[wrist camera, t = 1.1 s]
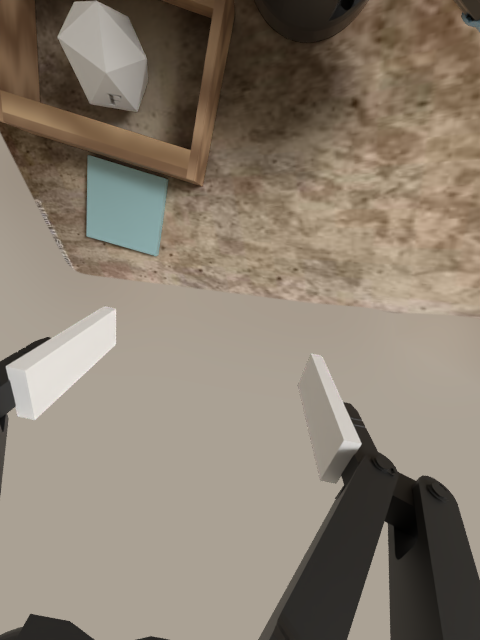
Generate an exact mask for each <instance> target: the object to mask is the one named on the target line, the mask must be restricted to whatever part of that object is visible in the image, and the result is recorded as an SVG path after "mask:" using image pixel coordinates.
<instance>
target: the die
mask: <svg viewBox="0 0 480 640" xmlns="http://www.w3.org/2000/svg"><path fill="white" fill-rule="evenodd" d="M58 39H59V42H60V44H61V46H62V48H63V50H64V52H65V54H66V56H67V58H68V60H69V62H70V64H71V66H72V68H73V70H74V72H75V74H76V76H77V78H78V80H79V82H80V84H81V86H82V88H83V90H84V92H85V94H86V97H87V99H88V101H89V103H90V104H92V105H98V106H104V107H110V108H116V109H121V110H127V111H133V112H138V109H139V107H140V104H141V101H142V98H143V95H144V92H145V89H146V86H147V83H148V67H147V57H146V55H145V53H144V51H143V48H142V46H141V44H140V42H139V39H138V37H137V35H136V33H135V30H134V28H133V26H132V24H131V22H130V19H129V17H128V16H126V15H124V14H122V13H120V12H118V11H116V10H114V9H112V8H110V7H108V6H106V5H104V4H102V3H100V2H98V1H76V2H74V3H73V5H72V7H71V9H70V11H69V14H68V16H67V18H66V20H65V22H64V24H63V26H62V28H61V30H60V32H59V35H58Z"/></svg>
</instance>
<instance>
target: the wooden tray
mask: <svg viewBox="0 0 480 640" xmlns="http://www.w3.org/2000/svg"><path fill="white" fill-rule="evenodd" d="M161 1H164V2H166V3H169V4H172V5H175V6H178V7H181V8H183V9H186V10H189V11H192V12H195V13H198V14H200V15H203V16H206V17H209V18H212V21H211V27H210V33H209V39H208V46H207V52H206V58H205V64H204V71H203V77H202V83H201V89H200V96H199V102H198V108H197V114H196V121H195V127H194V133H193V139H192V145H191V150H188V149H185V148H182V147H179V146H176V145H173V144H169V143H166V142H163V141H160V140H157V139H154V138H150V137H147V136H144V135H141V134H138V133H135V132H132V131H128V130H125V129H122V128H119V127H116V126H113V125H109V124H106V123H103V122H100V121H97V120H94V119H90V118H87V117H84V116H81V115H78V114H75V113H72V112H68V111H65V110H62V109H59V108H56V107H53V106H49V105H46V104H43V103H40V91H39V71H38V51H37V32H36V12H35V0H0V122H3V123H6V124H8V125H11V126H13V127H16V128H19V129H21V130H24V131H26V132H29V133H32V134H34V135H37V136H41V137H44V138H47V139H50V140H54V141H57V142H60V143H63V144H67V145H70V146H73V147H76V148H80V149H83V150H86V151H89V152H93V153H96V154H99V155H102V156H106V157H109V158H112V159H115V160H119V161H122V162H125V163H128V164H132V165H135V166H138V167H141V168H144V169H148V170H151V171H154V172H157V173H161V174H164V175H167V176H170V177H174V178H177V179H180V180H183V181H187V182H190V183H193V184H196V185H200V186H203V183H204V177H205V172H206V167H207V161H208V156H209V151H210V145H211V140H212V135H213V129H214V124H215V119H216V113H217V108H218V103H219V97H220V92H221V87H222V81H223V76H224V71H225V65H226V60H227V54H228V49H229V44H230V38H231V33H232V28H233V22H234V17H235V8H234V0H161Z"/></svg>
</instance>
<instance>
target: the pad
mask: <svg viewBox="0 0 480 640" xmlns="http://www.w3.org/2000/svg"><path fill="white" fill-rule="evenodd" d="M167 187H168V179H165V178H162V177H158V176H155V175H152V174H149V173H145V172H142V171H139V170H136V169H132V168H129V167H126V166H123V165H119V164H116V163H113V162H110V161H106V160H103V159H100V158H97V157H93V156H90V155H88V165H87V236H88V237H91V238H95V239H98V240H102V241H105V242H109V243H112V244H116V245H119V246H122V247H126V248H129V249H133V250H136V251H140V252H143V253H147V254H150V255H154V256H158V254H159V246H160V239H161V231H162V224H163V217H164V209H165V202H166V194H167Z"/></svg>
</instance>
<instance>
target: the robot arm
mask: <svg viewBox="0 0 480 640" xmlns="http://www.w3.org/2000/svg"><path fill="white" fill-rule="evenodd" d="M254 1H255V3H256V5H257V7H258V9H259V11H260V12H261V14H262V16H263V17H264V18H265V20H266V21H267V22H268V24H269V25H270V26H271V27H272V28H273V29H274V30H276V31H277V32H278V33H279V34H281V35H282V36H284V37H286V38H288V39H291V40H294V41H298V42H316V41H321V40H324V39H327V38H329V37H331V36H333V35H335V34H337V33H338V32H340V31H341V30H342V29H344V28H345V27H346V26H347V25H349V24H350V23H351V22H352V21H353V20H354V19H355V18H356V17H357V15H358V14H359V13H360V12H361V11H362V9H363V8H364V6H365V5H366V4H367V2H368V1H369V0H254ZM454 2H455V3H456V4H457V5H458V7H459V8H460V9H461V11H462V16H461V17H462V19H463V21H464V22H465V23H466V24H467V25H468V26H472V27H476V28H477V30H478V31H479V32H480V0H454ZM115 345H116V309H115V308H111V307H106V306H104V307H102V308H100V309H99V310H97V311H95V312H94V313H92V314H90V315H89V316H87V317H86V318H84V319H82V320H81V321H79V322H77V323H76V324H74V325H72V326H71V327H69V328H68V329H66V330H64V331H63V332H61V333H59V334H58V335H56V336H54V337H53V338H49V337H46V338H44V339H40V340H38V341H35V342H33V343H31V344H30V345H28V346H26V348H23V349H21V350H19V351H18V352H16V353H14V354H12V355H11V356H9V357H7V358H5V359H4V360H2V361H0V493H1V483H2V474H3V465H4V455H5V446H6V437H7V427H8V415H7V413H8V412H9V411H10V410H12V409H13V408H14V407H15V408H16V412H17V416H18V417H23V418H28V419H33V420H35V419H37V418H38V417H39V416H40V415H41V414H42V413H43V412H44V411H45V410H46V409H47V408H48V407H49V406H51V405H52V404H53V403H54V402H55V401H56V400H57V399H58V398H59V397H60V396H61V395H62V394H63V393H64V392H66V391H67V390H68V389H69V388H70V387H71V386H72V385H73V384H74V383H75V382H76V381H77V380H78V379H79V378H80V377H82V376H83V375H84V374H85V373H86V372H87V371H88V370H89V369H90V368H91V367H92V366H93V365H94V364H95V363H96V362H98V361H99V360H100V359H101V358H102V357H103V356H104V355H105V354H106V353H107V352H108V351H109V350H110V349H111V348H113V347H114V346H115ZM298 388H299V393H300V397H301V401H302V405H303V409H304V413H305V418H306V422H307V427H308V431H309V435H310V439H311V444H312V448H313V452H314V456H315V460H316V465H317V469H318V473H319V478H320V480H321V481H326V482H331V483H337V482H338V480H339V478H340V477H341V476H342V479H343V482H344V486H343V487H342V489H341V490H340V492H339V493H338V495H337V497H336V498H335V499H336V500H335V502H334V503H333V505H332V507H331V509H330V511H329V513H328V514H327V516H326V518H325V520H324V522H323V523H322V525H321V527H320V529H319V531H318V532H317V534H316V536H315V538H314V540H313V541H312V543H311V545H310V547H309V549H308V551H307V552H306V554H305V556H304V558H303V560H302V561H301V563H300V565H299V567H298V569H297V570H296V572H295V575H294V576H293V578H292V580H291V581H290V583H289V585H288V587H287V589H286V591H285V592H284V594H283V596H282V598H281V599H280V601H279V603H278V605H277V607H276V608H275V610H274V612H273V614H272V616H271V618H270V619H269V621H268V623H267V625H266V627H265V628H264V630H263V632H262V634H261V636H260V638H259V639H258V640H347V637H348V634H349V631H350V628H351V625H352V622H353V618H354V615H355V612H356V609H357V606H358V603H359V600H360V597H361V593H362V590H363V587H364V584H365V580H366V577H367V574H368V571H369V568H370V565H371V562H372V558H373V556H374V552H375V549H376V546H377V543H378V540H379V537H380V533H381V530H382V527H383V524H384V521H385V522H387V523H388V542H389V543H388V545H389V590H390V634H391V640H480V580H479V576H478V573H477V569H476V566H475V563H474V559H473V556H472V552H471V549H470V545H469V542H468V538H467V535H466V531H465V528H464V525H463V521H462V518H461V514H460V511H459V507H458V504H457V502H456V500H455V498H454V496H453V495H452V494H451V493H450V491H449V490H448V489H447V488H446V487H445V486H444V485H442V484H441V483H440V482H438V481H437V480H435V479H433V478H431V477H429V476H421V477H420V478H419V479H418V480H417V481H415V480H413V479H411V478H409V477H407V476H405V475H403V474H401V473H399V472H397V470H396V467H395V466H394V465H393V463H392V462H391V461H390V460H389V459H388V458H387V457H386V456H384V455H382V454H381V453H379V452H378V451H377V449H376V447H375V445H374V443H373V441H372V439H371V437H370V435H369V433H368V431H367V429H366V428H365V425H364V423H363V422H362V419H361V417H360V416H359V413H358V412H357V410H356V409H355V408H354V407H353V406H352V405H351V404H349V403H344V402H343V401H342V399H341V397H340V395H339V392H338V390H337V388H336V386H335V384H334V382H333V379H332V377H331V375H330V372H329V370H328V368H327V366H326V364H325V361H324V359H323V358H322V356H321V355H316V354H312V353H311V354H310V357H309V359H308V362H307V364H306V367H305V369H304V371H303V374H302V376H301V379H300V381H299V383H298ZM0 640H94V639H93V638H91V637H90V636H89V635H87V634H86V633H85V632H83V631H82V630H81V629H79V628H78V627H77V626H75V625H74V624H73V623H71V622H70V621H66V620H60V619H55V618H49V617H44V616H38V615H33V614H30V616H29V617H28V619H27V621H26V623H25V624H24V626H23V627H20V628H17V629H14V630H11V631H8V632H6V633H4V634H2V635H0ZM137 640H168V639H163V638H157V637H152V636H151V637H146V638H142V639H137Z"/></svg>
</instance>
